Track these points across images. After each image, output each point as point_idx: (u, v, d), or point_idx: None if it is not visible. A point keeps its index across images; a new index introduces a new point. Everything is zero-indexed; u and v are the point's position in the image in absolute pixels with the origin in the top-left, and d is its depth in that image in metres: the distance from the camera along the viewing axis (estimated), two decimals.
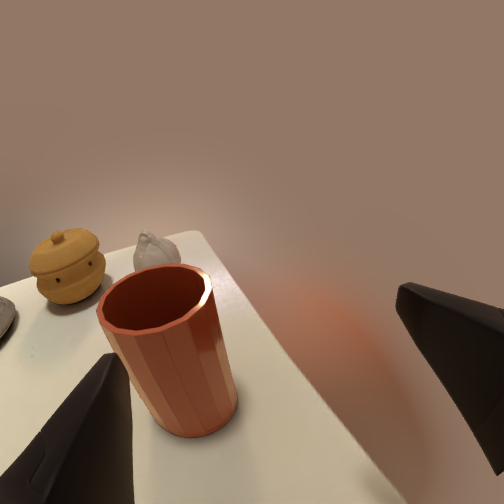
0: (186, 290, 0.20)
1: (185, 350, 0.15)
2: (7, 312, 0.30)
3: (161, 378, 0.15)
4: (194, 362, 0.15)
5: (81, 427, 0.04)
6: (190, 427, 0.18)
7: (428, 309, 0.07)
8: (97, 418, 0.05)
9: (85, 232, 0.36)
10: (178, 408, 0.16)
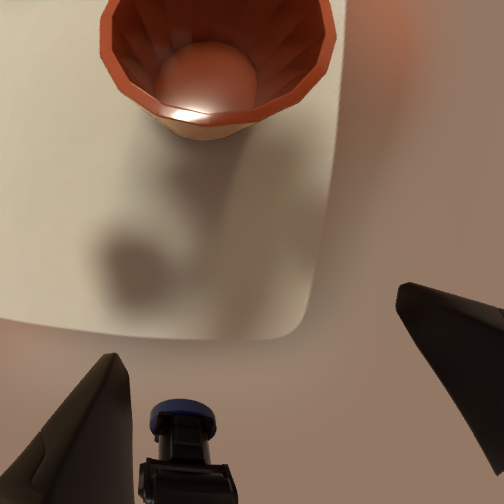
0: None
1: (229, 128, 0.09)
2: None
3: (177, 128, 0.10)
4: (233, 130, 0.10)
5: (81, 427, 0.04)
6: (186, 136, 0.16)
7: (428, 309, 0.07)
8: (97, 418, 0.05)
9: None
10: (183, 133, 0.13)
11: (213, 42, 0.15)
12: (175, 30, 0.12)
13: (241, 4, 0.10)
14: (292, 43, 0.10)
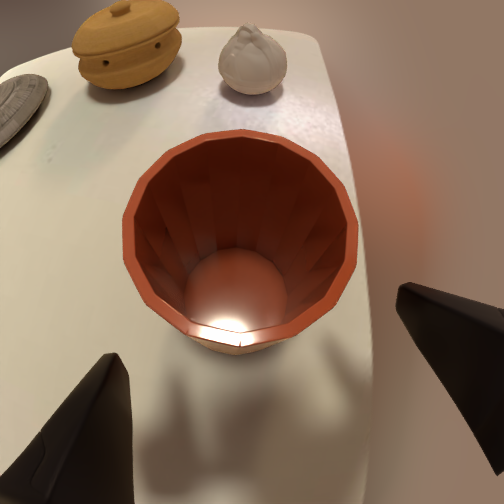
0: (298, 190, 0.11)
1: (265, 345, 0.09)
2: (34, 96, 0.22)
3: (209, 345, 0.10)
4: (268, 345, 0.10)
5: (81, 427, 0.04)
6: (220, 351, 0.16)
7: (428, 309, 0.07)
8: (97, 418, 0.05)
9: (162, 5, 0.19)
10: (216, 349, 0.13)
11: (237, 249, 0.19)
12: (199, 237, 0.16)
13: (260, 204, 0.14)
14: (315, 241, 0.12)
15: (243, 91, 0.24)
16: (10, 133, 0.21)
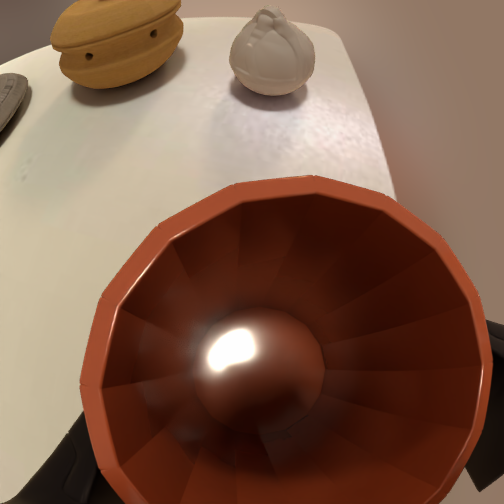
0: (388, 278, 0.06)
1: None
2: (10, 99, 0.17)
3: None
4: None
5: None
6: None
7: None
8: None
9: None
10: None
11: (261, 309, 0.14)
12: (214, 310, 0.11)
13: (310, 278, 0.09)
14: (398, 347, 0.07)
15: (261, 91, 0.19)
16: None
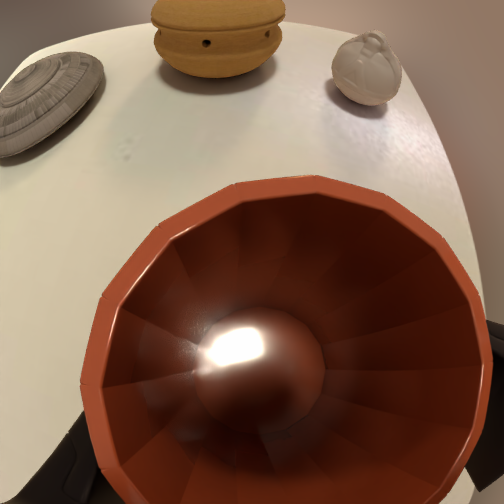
0: (388, 278, 0.06)
1: None
2: (90, 77, 0.20)
3: None
4: None
5: None
6: None
7: None
8: None
9: None
10: None
11: (261, 309, 0.14)
12: (214, 309, 0.11)
13: (310, 277, 0.09)
14: (398, 346, 0.07)
15: (361, 101, 0.22)
16: (60, 120, 0.19)
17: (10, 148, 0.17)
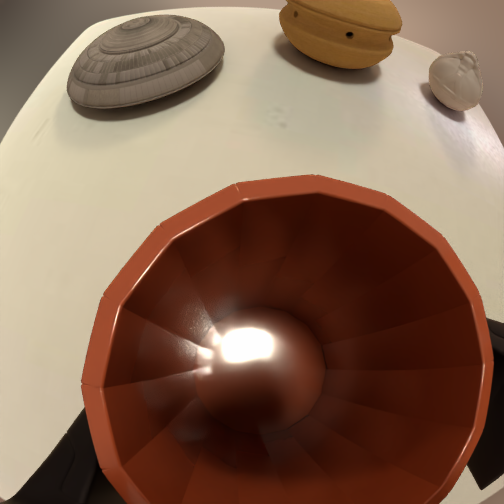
0: (389, 278, 0.06)
1: None
2: (217, 42, 0.20)
3: None
4: None
5: None
6: None
7: None
8: None
9: None
10: None
11: (262, 309, 0.14)
12: (215, 309, 0.11)
13: (310, 277, 0.09)
14: (399, 346, 0.07)
15: (453, 106, 0.22)
16: (193, 77, 0.19)
17: (125, 97, 0.18)
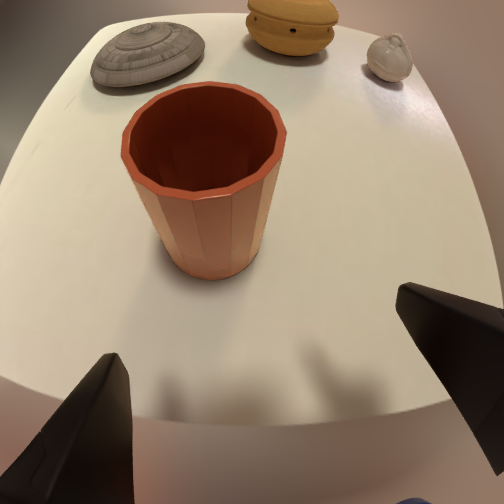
0: (251, 124, 0.14)
1: (217, 220, 0.12)
2: (198, 41, 0.28)
3: (179, 234, 0.14)
4: (224, 230, 0.13)
5: (81, 427, 0.04)
6: (196, 271, 0.19)
7: (428, 309, 0.07)
8: (97, 418, 0.05)
9: None
10: (189, 257, 0.17)
11: None
12: (182, 175, 0.19)
13: (227, 143, 0.17)
14: (266, 161, 0.15)
15: (387, 78, 0.30)
16: (181, 65, 0.27)
17: (134, 79, 0.26)
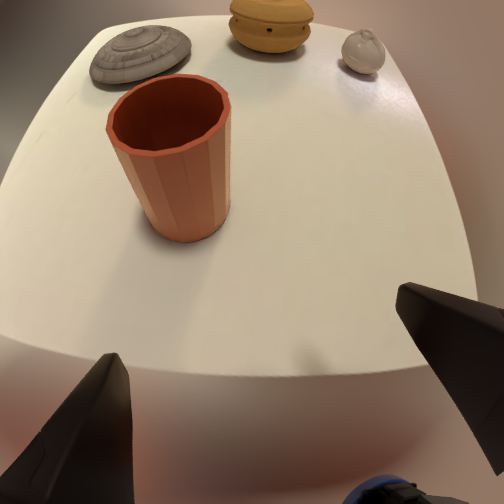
0: (211, 106, 0.17)
1: (175, 175, 0.15)
2: (185, 42, 0.31)
3: (149, 190, 0.16)
4: (183, 186, 0.16)
5: (81, 427, 0.04)
6: (169, 232, 0.22)
7: (428, 309, 0.07)
8: (97, 418, 0.05)
9: (304, 1, 0.28)
10: (161, 216, 0.19)
11: None
12: None
13: (196, 124, 0.20)
14: None
15: (360, 70, 0.33)
16: (169, 64, 0.30)
17: (127, 76, 0.29)
